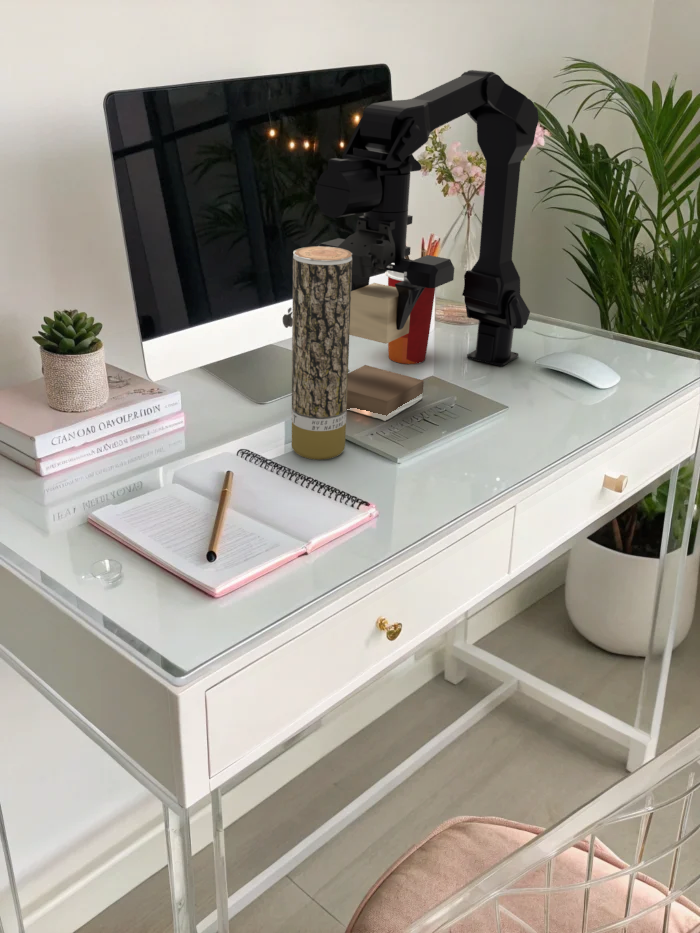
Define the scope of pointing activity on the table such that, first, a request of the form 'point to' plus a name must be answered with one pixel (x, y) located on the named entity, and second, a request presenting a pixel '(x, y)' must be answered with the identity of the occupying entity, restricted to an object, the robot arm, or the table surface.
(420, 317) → the coffee cup
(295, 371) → the paper tube
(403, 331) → the oak cube
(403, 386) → the walnut base
